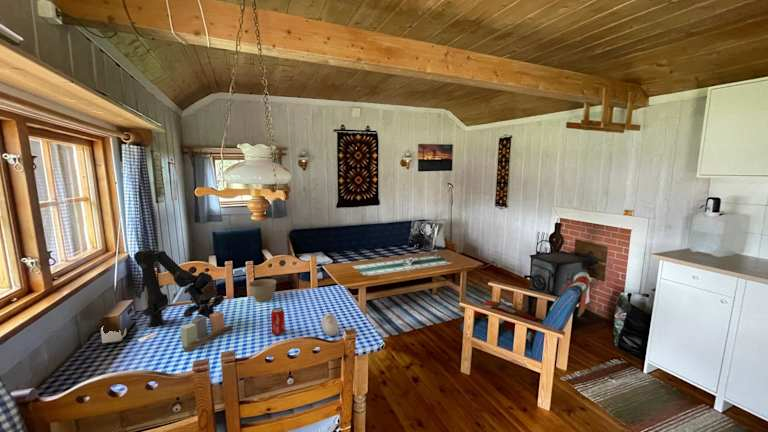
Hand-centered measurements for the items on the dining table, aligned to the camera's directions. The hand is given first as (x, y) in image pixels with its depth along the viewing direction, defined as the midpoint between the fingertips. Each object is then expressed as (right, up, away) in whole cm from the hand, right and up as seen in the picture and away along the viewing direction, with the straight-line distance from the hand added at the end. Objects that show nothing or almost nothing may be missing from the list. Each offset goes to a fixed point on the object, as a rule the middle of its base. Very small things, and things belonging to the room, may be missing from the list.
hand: (213, 319), depth 156 cm
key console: (-2, -7, -6) cm, 10 cm away
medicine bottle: (-44, -7, -6) cm, 45 cm away
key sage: (-4, -7, -13) cm, 15 cm away
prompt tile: (-25, -7, -7) cm, 27 cm away
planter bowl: (+8, -2, +44) cm, 45 cm away
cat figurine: (+57, -7, +3) cm, 58 cm away
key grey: (-3, -6, -5) cm, 9 cm away
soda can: (+32, -7, +1) cm, 32 cm away
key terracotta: (+2, -6, 0) cm, 6 cm away
